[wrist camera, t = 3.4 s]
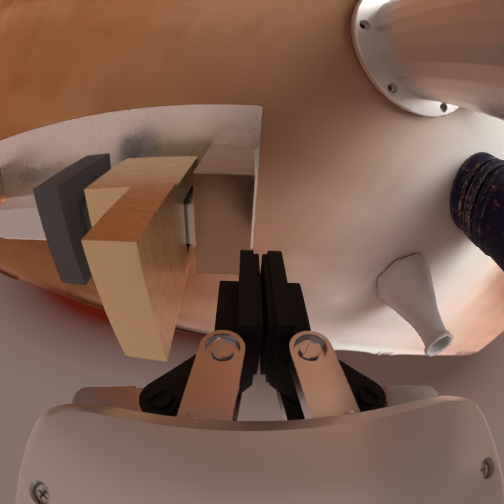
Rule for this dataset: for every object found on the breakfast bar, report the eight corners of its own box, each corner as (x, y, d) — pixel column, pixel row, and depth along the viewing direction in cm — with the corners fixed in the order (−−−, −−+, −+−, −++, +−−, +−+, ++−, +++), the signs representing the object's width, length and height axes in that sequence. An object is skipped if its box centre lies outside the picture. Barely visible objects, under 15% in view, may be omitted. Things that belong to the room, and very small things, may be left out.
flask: (384, 310, 31) (412, 376, 22) (366, 275, 27) (401, 349, 19) (431, 282, 28) (469, 342, 20) (421, 241, 25) (470, 306, 17)
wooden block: (197, 153, 16) (136, 242, 7) (200, 235, 19) (167, 361, 11) (125, 155, 16) (22, 238, 7) (136, 233, 19) (73, 345, 10)
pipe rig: (262, 105, 18) (270, 114, 11) (252, 242, 25) (253, 310, 18) (-13, 145, 17) (-64, 174, 10) (8, 234, 23) (-30, 275, 16)
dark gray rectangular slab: (109, 153, 16) (57, 186, 11) (121, 232, 20) (85, 285, 14) (87, 155, 16) (32, 189, 11) (100, 231, 20) (62, 282, 14)
